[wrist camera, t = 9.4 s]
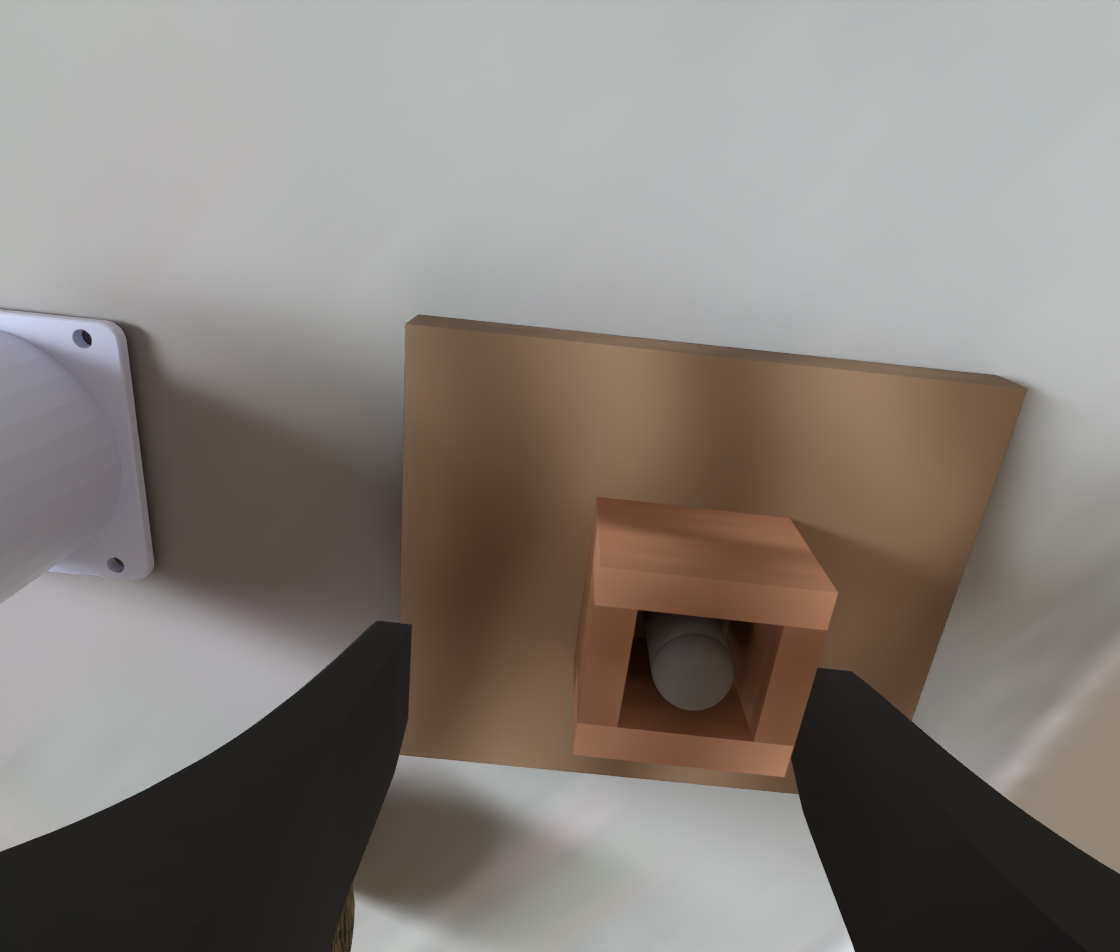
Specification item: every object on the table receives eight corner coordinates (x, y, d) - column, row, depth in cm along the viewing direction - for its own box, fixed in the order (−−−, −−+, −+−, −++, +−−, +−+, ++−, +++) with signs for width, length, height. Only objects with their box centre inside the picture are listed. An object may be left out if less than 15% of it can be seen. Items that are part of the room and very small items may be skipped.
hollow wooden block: (573, 659, 22) (572, 754, 18) (596, 496, 20) (600, 566, 16) (749, 677, 22) (784, 776, 18) (789, 518, 20) (838, 593, 16)
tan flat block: (407, 722, 25) (356, 877, 19) (418, 314, 19) (352, 362, 14) (865, 768, 25) (948, 934, 19) (995, 375, 20) (1160, 446, 14)
